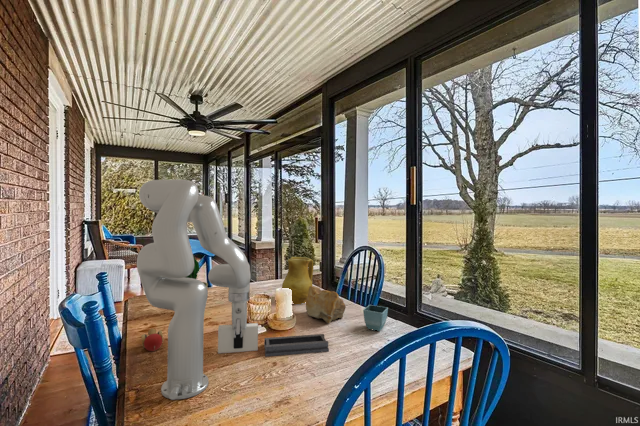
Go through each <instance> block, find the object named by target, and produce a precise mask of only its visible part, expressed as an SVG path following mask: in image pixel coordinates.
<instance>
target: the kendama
mask: <svg viewBox="0 0 640 426" xmlns="http://www.w3.org/2000/svg"><path fill="white" fill-rule="evenodd" d="M163 342H164V338H163V330H158V331H157V330H156V329H155V328H150V329H149V330H148V332H147V334H146V333H145V334H144V333H143V334H142V335H141V344H142V348H143V349H145V350H146V351H149V352H155V351H158V350H159V349H160V348H161V347H162V345H163Z"/></svg>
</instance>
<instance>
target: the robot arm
mask: <svg viewBox="0 0 640 426" xmlns="http://www.w3.org/2000/svg"><path fill="white" fill-rule="evenodd" d="M199 193H200V192H199V188H198V186H197V184H196V183H195V182H193V181H191V180H188V179H179V178H178V179H173V178H171V179H152V180H148V181H146V182H144V183H143V184H142V185H141V186H140V188H139V192H138V197H139V198H138V199H139V200H140V203H141V204H142V205H143V206H144V207H145V208H146V209H148V210H149V211H151V212H154V213H155V214H156V216H155V217H154V220H153V222H152V226H151V233H152V238H153V242H151V243H147V244H146V245H144V246H143V247H142V248H141V249H140V250H139V252H138V254H137V258H136V268H137V269H136V270H137V273H138V276H139V279H140V280H139V281H140V282H141V285H142V288H143V293H144V294H145V297H146V299H147V301H148V303H149V304H150V305H151V306H153V307H155V308H158V309H161V310H167V311H172V312H174V315H173V317H172V318H171V320H170V321H169V324H168V328H167V375H166V376H167V380H166V381H164V382H163V383H162V385H161V387H160V391H161V394H162V396H163V397H164V398H167V399H170V400H172V401H174V400H183V399H184V400H185V399H188V398H192V397H195V396H197V395H199V394H201V393H202V392H203V391H205V390H206V388H208V386H209V377H208V376H207V374H204V330H205V329H204V328H205V327H204V325H205V322H204V321H205V311H206V305H207V301H208V294H209V291H208V286H207V287H206V285H205V284H204V283H203V282H204V281H202V280H200V279H197V278H196V279H193V278H185V277H187V276H189V275H190V274H191V273H192V271H193V270H194V257H195V256H194V253H193V250H192V246H191V243H190V238H189V234H188V227H187V225H188V224H187V223H192V226H193V229H194V230H195V233H196V235H197V239H198V241H199V244H200V246H201V247H202V248H203V249H204V250H205V251H207V252H208V253H211V254H213V255H214V256H217V257H219V258H220V259H222V260H223V261H224V262H226V263H225V264H224V263H223V264H222V263H221V264H216V265H214V266H213V267H211V269H210V270H209V272H208V275H207V276H208V277H207V278H208V281H209V283H210V284H211V285H212V286H216V287H218V288H219V287H221V288H228V295H227V296H228V302H229V303H231V325H232V329H233V330H234V349H237V348H243V337H242V329H244V330H245V329H246V326H247V324H248V323H247V321H248V320H247V319H248V313H247V312H248V302H249V301H250V296H251V295H250V291H251V290H250V289H251V288H250V287H251V284H250V283H251V282H250V281H251V276H252V275H251V274H252V273H251V266H250V263H249V262H248V258H247V257H246V255H245V253H244V251H243V250H242V249H241V248H240V247H239V246H238V245H237V244H236V243H235V242H234V241H233V240H231V238H229V237H228V235H227V231H226V229H225V225H224V224H223V223H224V222H223V220H222V217H221V213H220V210H219V207H218V205H217V202H216V200H215V199H214V198H213V197H211V196H208V195H204V194H203V195H202V194H199ZM193 256H194V257H193ZM240 327H241V328H240ZM240 331H241V332H240Z"/></svg>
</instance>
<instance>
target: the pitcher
mask: <svg viewBox="0 0 640 426" xmlns="http://www.w3.org/2000/svg"><path fill="white" fill-rule="evenodd" d="M287 262H288V270H287V274H286V276H285V278H284V279H283V281H282V284H281V289H282V288H289V289H291V290H292V301H293V303H294V304H300V305H302V304H301V303H305V302H306V299H307V297H308V291H309V287H310V286H313V275H314V260H313V259H311V258H309V257H304V256H291V257H290V258H289V259H287Z"/></svg>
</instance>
